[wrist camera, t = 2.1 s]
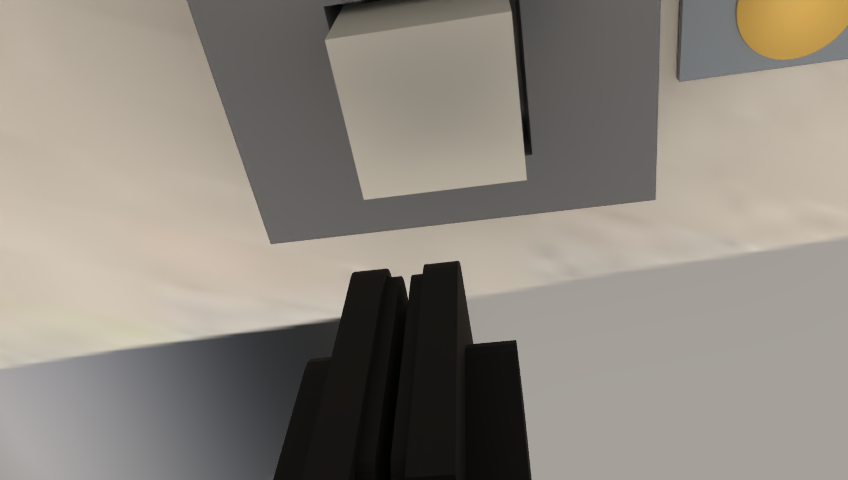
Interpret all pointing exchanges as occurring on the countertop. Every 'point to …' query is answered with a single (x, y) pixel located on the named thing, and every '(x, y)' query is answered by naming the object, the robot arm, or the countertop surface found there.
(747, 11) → the pattern card
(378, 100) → the key
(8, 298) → the countertop surface
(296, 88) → the button board
